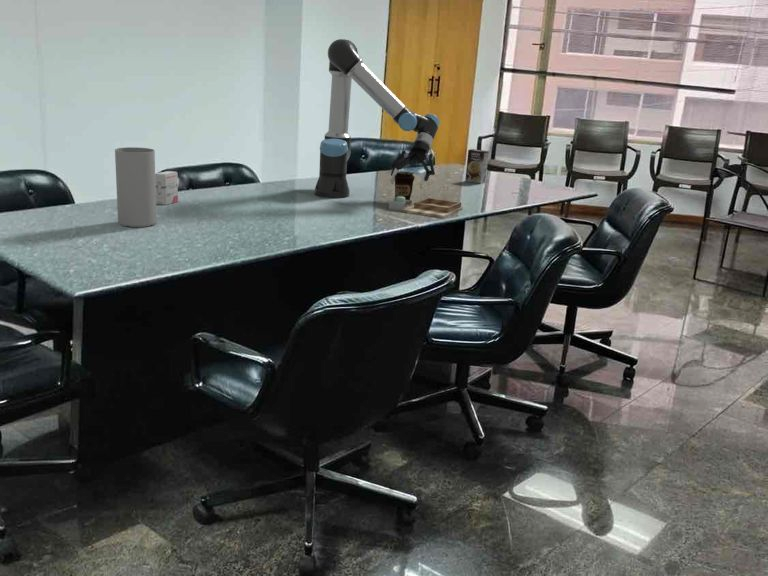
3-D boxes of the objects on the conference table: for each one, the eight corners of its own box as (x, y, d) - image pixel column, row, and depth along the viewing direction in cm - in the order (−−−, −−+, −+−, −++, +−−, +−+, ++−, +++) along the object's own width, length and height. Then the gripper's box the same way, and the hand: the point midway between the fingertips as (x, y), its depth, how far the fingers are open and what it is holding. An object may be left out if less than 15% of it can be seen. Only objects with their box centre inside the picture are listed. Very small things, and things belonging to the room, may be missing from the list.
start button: (394, 205, 313) (394, 197, 312) (397, 204, 316) (398, 196, 315) (402, 207, 311) (403, 198, 310) (405, 205, 314) (406, 197, 313)
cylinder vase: (138, 218, 270) (136, 146, 263) (164, 223, 264) (162, 150, 257) (110, 223, 260) (106, 149, 252) (136, 229, 254) (133, 153, 247)
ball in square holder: (388, 209, 312) (389, 200, 311) (395, 206, 318) (396, 198, 317) (404, 211, 309) (404, 202, 308) (411, 208, 316) (411, 200, 314)
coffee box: (464, 181, 392) (467, 149, 387) (470, 180, 397) (473, 148, 393) (480, 183, 388) (484, 151, 383) (486, 182, 393) (489, 150, 388)
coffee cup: (410, 206, 321) (412, 175, 317) (391, 204, 322) (393, 173, 319) (414, 202, 329) (416, 172, 325) (395, 200, 331) (397, 170, 327)
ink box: (168, 200, 303) (167, 170, 299) (178, 201, 301) (178, 171, 298) (154, 203, 295) (153, 173, 291) (165, 205, 293) (164, 174, 290)
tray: (401, 211, 308) (402, 204, 307) (422, 203, 328) (423, 196, 327) (443, 218, 301) (444, 210, 300) (462, 209, 321) (463, 202, 320)
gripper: (393, 136, 336) (377, 175, 327) (447, 142, 326) (431, 182, 317) (397, 148, 342) (381, 186, 333) (450, 154, 332) (435, 193, 324)
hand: (406, 184), depth 325 cm, fingers open, 13 cm apart
